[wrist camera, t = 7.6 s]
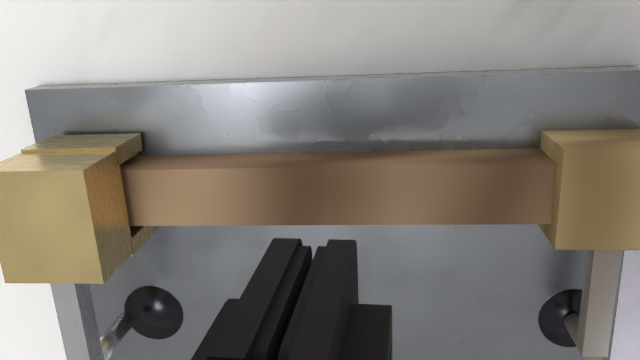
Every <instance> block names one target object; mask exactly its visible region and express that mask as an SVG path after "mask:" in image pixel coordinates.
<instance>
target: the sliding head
mask: <svg viewBox="0 0 640 360" xmlns="http://www.w3.org/2000/svg"><path fill="white" fill-rule="evenodd" d="M142 150H143V148H142V141H141V134H140V133H126V134H82V135H54V136H51V137H49V138H47V139H45V140H42V141H40V142H38V143H35V144H33V145H31V146H28V147H26V148H24V149H22V150H21V152H22V153H20V154H18V155H15V156H13V157H11V158H9V159H6V160H4V161H2V162H0V263H1V267H2V271H3V275H4V280H5V283H50V284H51V289H52V293H53V298H54V302H55V307H56V312H57V316H58V321H59V325H60V330H61V334H62V339H63V344H64V348H65V353H66V357H67V360H108V359H109V357H110V356H111V355H112V353H113V352H114V350H115V349H116V348H117V346H118V345H119V344H120V342H121V341H122V340H123V338H124V337H125V336H126V334H127V333H128V332H129V330H130V329H131V328H132V326H133V325H134V323H135V318H134V316H133V315H132V314H131V313H129V312H126V311H124V312H121V313H120V314H119V315H118V316H117V317H116V319H115V320H114V321H113V322H112V324H111V325H110V326H109V327H108V328H107V330H106V331H105V332H104V333H103V335H102V336H101V337H99V331H98V326H97V321H96V316H95V311H94V306H93V300H92V295H91V290H90V285H89V284H104V283H105V282H106V281H107V280H108V279H109V278H110V277H111V276H112V275H113V273H114V272H115V271H116V270H117V269H118V268H119V267H120V266H121V265H122V264H123V263H124V262H125V261H126V260H127V259H128V258H129V257H130V256H134V255H135V253H136V252H137V251H138V250H139V249H140V248H141V247H142V246H143V245H144V244H145V243H146V242H147V241H148V240H149V239H150V238H151V236H152V235H153V234H154V233H155V228H154V226H129V221H128V214H127V208H126V202H125V196H124V190H123V184H122V178H121V172H120V164H122V163H123V162H125V161H126V160H128V159H129V158H131V157H132V156H134V155H135V154H137V153H138V152H140V151H142Z"/></svg>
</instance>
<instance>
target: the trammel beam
mask: <svg viewBox="0 0 640 360" xmlns="http://www.w3.org/2000/svg"><path fill="white" fill-rule="evenodd" d="M120 172H121V178H122V184H123V190H124V196H125V202H126V208H127V214H128V221H129V226H255V225H508V224H538V226H539V227H540V229H541V230H542V232H543V233H544V234H545V236H546V237H547V239H548V240H549V242H550V243H551V245H552V246H553V248H554V249H555V250H587V252H586V261H585V270H584V279H583V288H582V297H581V306H580V314H578V313H571V314H569V315H567V316H566V318H565V319H564V325H565V327H566V328H567V330H568V332H569V334H570V335H571V337H572V339H573V341H574V343H575V344H576V346H577V348H578V350H579V352H580V353H581V355H582V357H583V359H584V360H603V358H604V357H608V350H609V342H610V335H611V327H612V320H613V312H614V304H615V297H616V289H617V281H618V274H619V266H620V259H621V251H622V250H640V129H604V130H558V131H542V134H541V147H540V148H531V149H476V150H422V151H367V152H312V153H257V154H202V155H147V156H132V157H131V158H129V159H128V160H126V161H125V162H123V163H122V164H120Z"/></svg>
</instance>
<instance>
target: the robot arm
mask: <svg viewBox="0 0 640 360" xmlns="http://www.w3.org/2000/svg"><path fill="white" fill-rule="evenodd" d="M191 360H392V305H378V304H359V297H358V263H357V243H356V240H339V239H329V240H328V242H327V245H326V246H318V247H317V250H316V253H315V255H314V258H312V248H311V246H303V244H302V240H301V239H296V238H274V239H273V240H272V241H271V243H270V245H269V247H268V249H267V250H266V252H265V254H264V256H263V257H262V259H261V261H260V263H259V265H258V266H257V268H256V270H255V272H254V274H253V275H252V277H251V279H250V281H249V282H248V284H247V286H246V288H245V290H244V291H243V293H242V295H241V297H240V299H234V298H231V299H228V300H227V301H226V302H225V303H224V305H223V307H222V308H221V310H220V312H219V313H218V315H217V317H216V318H215V320H214V322H213V323H212V325H211V327H210V328H209V330H208V332H207V333H206V335H205V337H204V338H203V340H202V342H201V343H200V345H199V347H198V348H197V350H196V352H195V353H194V355H193V357H192V358H191Z"/></svg>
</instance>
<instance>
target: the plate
mask: <svg viewBox="0 0 640 360" xmlns="http://www.w3.org/2000/svg"><path fill="white" fill-rule="evenodd" d="M25 94H26V99H27V103H28V108H29V113H30V118H31V122H32V127H33V132H34V137H35V142H36V143H38V142H40V141H42V140H45V139H47V138H49V137H51V136H54V135H82V134H126V133H140V134H141V141H142V148H143V150H142V151H140V152H138V153H137V154H135V155H134V156H147V155H202V154H257V153H312V152H367V151H422V150H476V149H531V148H540V147H541V134H542V131H558V130H604V129H640V67H636V66H619V67H589V68H558V69H528V70H498V71H468V72H437V73H407V74H377V75H347V76H317V77H286V78H256V79H226V80H196V81H166V82H135V83H105V84H75V85H45V86H37V87H34V88H30V89H26V90H25ZM154 228H155V233H154V234H153V235H152V236H151V238H150V239H149V240H148V241H147V242H146V243H145V244H144V245H143V246H142V247H141V248H140V249H139V250H138V251H137V252H136V253H135V255H134V256H130V257H129V258H128V259H127V260H126V261H125V262H124V263H123V264H122V265H121V266H120V267H119V268H118V269H117V270H116V271H115V272H114V273H113V275H112V276H111V277H110V278H109V279H108V280H107V281H106V282H105V283H104V284H89V285H90V290H91V295H92V300H93V306H94V311H95V316H96V321H97V326H98V331H99V337H101V336H102V335H103V333H104V332H105V331H106V330H107V328H108V327H109V326H110V325H111V324H112V322H113V321H114V320H115V319H116V317H117V316H118V315H119V314H120V313H121V312H124V311H126V312H129V313H131V314H132V315H133V316H134V318H135V323H134V325H133V326H132V328H131V329H130V330H129V332H128V333H127V334H126V336H125V337H124V338H123V340H122V341H121V342H120V344H119V345H118V346H117V348H116V349H115V350H114V352H113V353H112V355H111V356H110V357H109V359H108V360H191V358H192V357H193V355H194V353H195V352H196V350H197V348H198V347H199V345H200V343H201V342H202V340H203V338H204V337H205V335H206V333H207V332H208V330H209V328H210V327H211V325H212V323H213V322H214V320H215V318H216V317H217V315H218V313H219V312H220V310H221V308H222V307H223V305H224V303H225V302H226V301H227V300H228V299H231V298H234V299H240V297H241V295H242V293H243V291H244V290H245V288H246V286H247V284H248V282H249V281H250V279H251V277H252V275H253V274H254V272H255V270H256V268H257V266H258V265H259V263H260V261H261V259H262V257H263V256H264V254H265V252H266V250H267V249H268V247H269V245H270V243H271V241H272V240H273V239H274V238H296V239H301V240H302V244H303V246H311V248H312V258H314V255H315V253H316V250H317V247H318V246H326V245H327V242H328V240H329V239H339V240H356V243H357V263H358V297H359V304H378V305H392V360H584V359H583V357H582V355H581V353H580V352H579V350H578V348H577V346H576V344H575V343H574V341H573V339H572V337H571V335H570V334H569V332H568V330H567V328H566V327H565V325H564V319H565V318H566V316H567V315H569V314H571V313H578V314H580V306H581V297H582V288H583V279H584V270H585V261H586V252H587V250H555V249H554V248H553V246H552V245H551V243H550V242H549V240H548V239H547V237H546V236H545V234H544V233H543V232H542V230H541V229H540V227H539V226H538V224H508V225H255V226H154ZM623 256H624V250H622V251H621V259H620V266H619V274H618V281H617V289H616V297H615V304H614V312H613V320H612V327H611V335H610V342H609V350H608V357H604V358H603V360H610V354H611V346H612V339H613V331H614V324H615V316H616V309H617V301H618V294H619V286H620V279H621V271H622V263H623Z"/></svg>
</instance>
